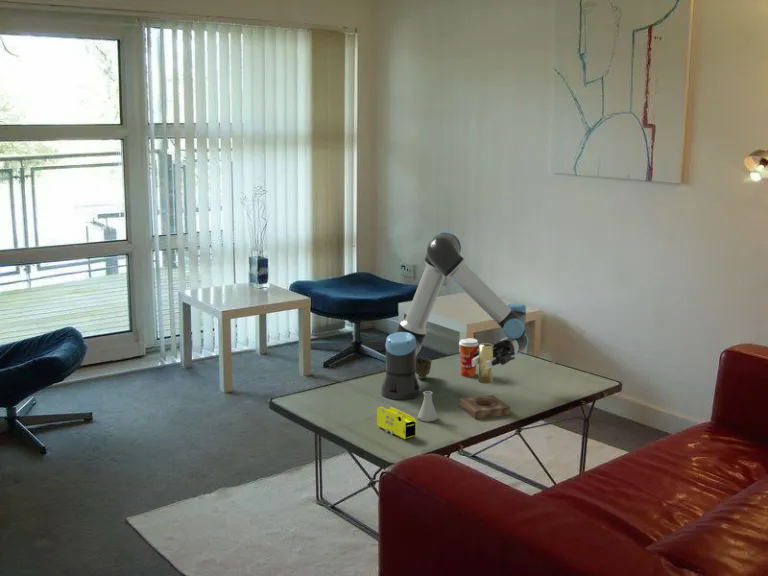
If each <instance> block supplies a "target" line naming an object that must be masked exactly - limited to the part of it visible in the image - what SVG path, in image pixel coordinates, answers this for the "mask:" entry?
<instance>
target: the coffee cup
mask: <svg viewBox="0 0 768 576" xmlns="http://www.w3.org/2000/svg"><path fill="white" fill-rule="evenodd" d="M479 344H480V343H479V342H478V340H477V339H476V338H470V337H469V338H463V339H462V338H461V339H460V341H459V342H458V345H459V354H460V356H459V357H460V375H461V376H462V377H463V378H464V377H465V378H472V377H475V376H476V373H477V371H476V370H477V365H476V366H474V367H472V359H473V357H474V353H475V352H477V351H479V349H478V346H479Z"/></svg>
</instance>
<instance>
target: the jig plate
mask: <svg viewBox="0 0 768 576" xmlns="http://www.w3.org/2000/svg"><path fill="white" fill-rule="evenodd" d="M458 405H459V408H461V409H462V410H463V411H464V412H466V413H467V414H468V415H469V416H470V417H471V418H473V419H474V420H479V419H487V418H495V417H502V416H503V417H505V416H509V415H511V406H510V405H508V404H506V403H505V402H504V401H502V400H501V399H500V398H498V397H497V396H495V395H494V394H491V395H482V396H474V397H465V398H464V397H463V398H459V404H458Z"/></svg>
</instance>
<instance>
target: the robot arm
mask: <svg viewBox="0 0 768 576" xmlns="http://www.w3.org/2000/svg"><path fill="white" fill-rule="evenodd" d="M461 250H462V246H461V241H460V239H459V238H458V237H457V236H456V235H455V234H453V233H451V232H448V231H446V232H439V233H438V234H436V235H434V237H433V239H431V240H430V242H428V245H427V247H426V255H425V257H424V260H423V262H424V263H425V267H424V271H423V273H422V276H421V278H420V280H419V283H418V286H417V287H416V291H415V293H414V295H413V299H412V301H411V304H410V306H409V309H408V311H407V313H406V316H405V318H404V319H403V320H400V321H399V323H398V326H397V329H396V331H395V332H393V333H391V334H389V335H388V336H387V337H386V340H385V376H384V379H383V383H382V384H381V385H382V386H381V392H380V394H381V395H382V396H383V397H384V398H387V399H392V400H409V399H413V398H414V399H415V398H417V397H418V396H419V395H421V394H420V393H421V391H420V390H421V389H420V388H421V387H420V385H419V380H418V379H417V378H418V377H417V374H416V372H415V369H416V359H417V356H418V354H419V352H420V351H421V349H423V346H424V341H425V338H426V335H427V332H428V330H427V329H426V326H427V322H428V321H429V318H430V315H431V313H432V311H433V308H434V305H435V304H436V303H435V302H436V300H437V298H438V295H439V293H440V290H441V288H442V287H443V283H444V281H445V278H449V279H452V281H453V282H454V283H456V285H457V286H458V287H460V289H462V290H463V291H464V292H465V294H467V295H468V296H469V297H470V299H472V300H473V301H474V302H475V304H477V305H478V306H479V307H480V308H481V309H482V310H483V311H484V312H485V313H486V314H487V315H488V316H489V317H490V318H491V319H493V321H494V322H495V323H496V324H497V325H498V326H499V327H500V328H501V329H502V330H503V332H504V335H505V337H504V338H502V339H500V340H499V341H497V342H496V343H494V344H493V358H492V359H490V360H488V361H487V362H486V369H489V368H491V367H492V366H493V367H494V366H496V365H501V366H504V365H506V364H507V363H509V362H511V361H512V360H515V358H516V355H517V354H518V353H520V352H522V351H523V350H524V349H525V348H527V347H528V345H529V337H528V335H527V333H526V323H527V320H526V319H527V318H526V317H527V306H526V305H525V304H523V303H519V302H518V303H517V302H513V303H512V302H511V303H509V304H507V303H505V301H503V300H502V299H501V297H499V296H498V295H497V294H496V293H495V292H494V290H493V289H491V287H489V286H488V285H487V284H486V283H485V282H484V281H483V280H482V279H481V278H480V277H479V276H478V275H477V274H476V273H475V272H474V271H473V270H472V269H471V268H470V267H469V266H468V265H467V264H466V263H465V258H464V257H462V255H461ZM477 365H478V366H479V350H477V352H475V353H474V357H473V359H472V367H474V366H476V367H477Z"/></svg>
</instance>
